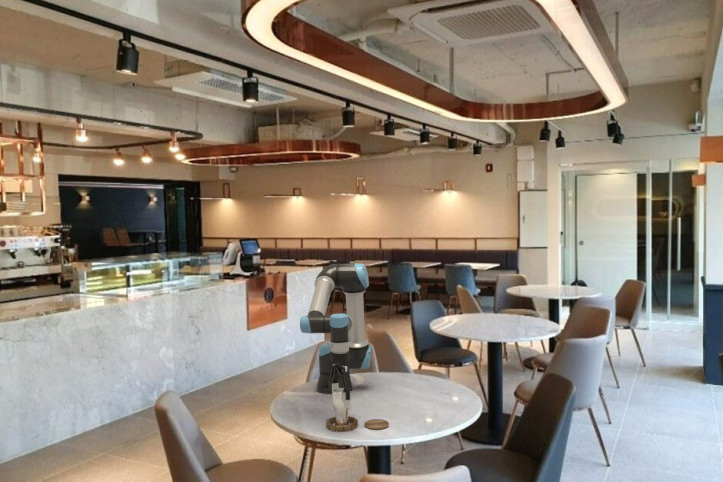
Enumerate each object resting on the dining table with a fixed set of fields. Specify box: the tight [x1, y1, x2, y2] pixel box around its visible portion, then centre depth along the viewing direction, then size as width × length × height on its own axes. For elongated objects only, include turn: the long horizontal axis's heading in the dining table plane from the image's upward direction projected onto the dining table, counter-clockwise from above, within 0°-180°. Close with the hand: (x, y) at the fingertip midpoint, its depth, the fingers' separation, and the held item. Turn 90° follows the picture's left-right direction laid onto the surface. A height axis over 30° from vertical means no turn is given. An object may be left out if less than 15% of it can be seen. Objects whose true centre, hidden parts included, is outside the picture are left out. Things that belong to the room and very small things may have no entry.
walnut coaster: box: [364, 418, 390, 431], centre depth 238 cm, size 10×10×1 cm
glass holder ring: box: [325, 415, 359, 433], centre depth 238 cm, size 13×13×2 cm
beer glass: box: [332, 388, 350, 426], centre depth 238 cm, size 7×7×15 cm
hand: (341, 403), depth 238 cm, fingers open, 13 cm apart
